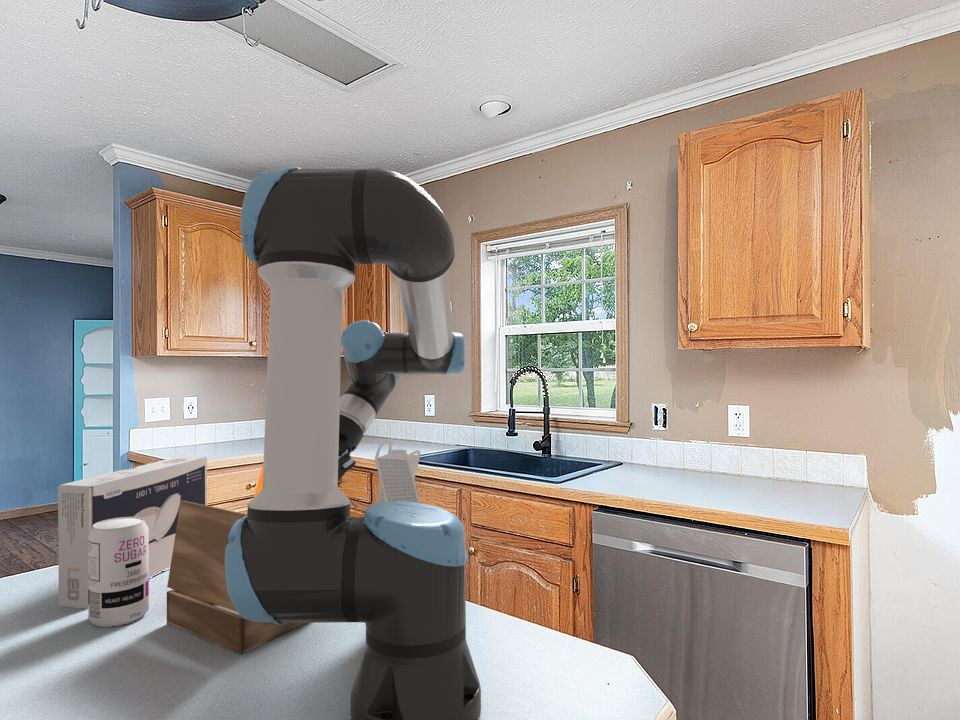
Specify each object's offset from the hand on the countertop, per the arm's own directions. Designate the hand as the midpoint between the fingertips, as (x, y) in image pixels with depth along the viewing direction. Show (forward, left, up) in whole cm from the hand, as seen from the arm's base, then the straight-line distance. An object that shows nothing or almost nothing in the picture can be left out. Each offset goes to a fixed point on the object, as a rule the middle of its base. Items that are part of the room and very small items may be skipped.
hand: (274, 536), depth 100 cm
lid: (-7, +11, -6) cm, 14 cm away
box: (-3, +5, -12) cm, 13 cm away
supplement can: (+6, +23, -12) cm, 26 cm away
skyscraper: (-12, -17, -12) cm, 24 cm away
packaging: (+26, +22, -12) cm, 36 cm away
